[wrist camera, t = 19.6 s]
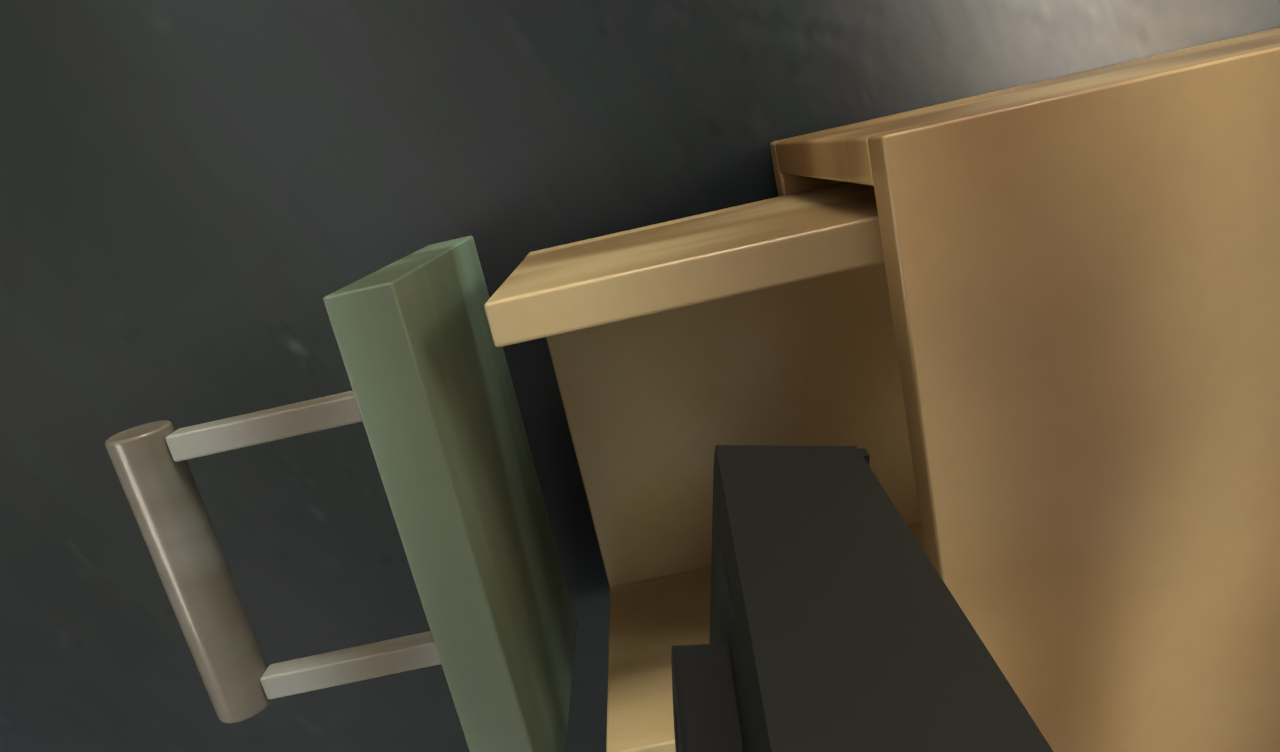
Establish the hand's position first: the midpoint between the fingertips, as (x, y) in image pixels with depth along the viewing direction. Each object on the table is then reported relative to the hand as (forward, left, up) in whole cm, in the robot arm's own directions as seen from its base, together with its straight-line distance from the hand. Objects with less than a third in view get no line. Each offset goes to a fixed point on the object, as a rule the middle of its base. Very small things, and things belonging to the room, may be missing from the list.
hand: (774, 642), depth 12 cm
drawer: (-3, 0, -11) cm, 11 cm away
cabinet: (+10, +2, -12) cm, 16 cm away
